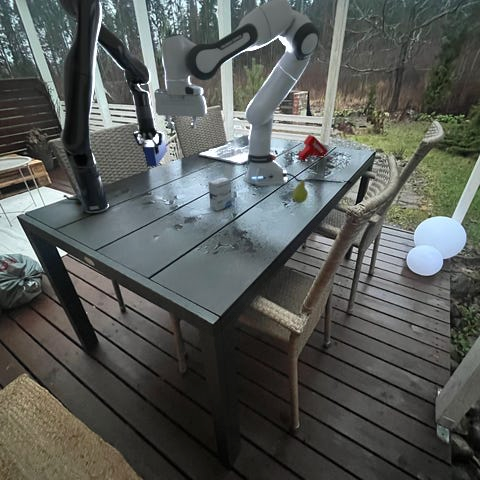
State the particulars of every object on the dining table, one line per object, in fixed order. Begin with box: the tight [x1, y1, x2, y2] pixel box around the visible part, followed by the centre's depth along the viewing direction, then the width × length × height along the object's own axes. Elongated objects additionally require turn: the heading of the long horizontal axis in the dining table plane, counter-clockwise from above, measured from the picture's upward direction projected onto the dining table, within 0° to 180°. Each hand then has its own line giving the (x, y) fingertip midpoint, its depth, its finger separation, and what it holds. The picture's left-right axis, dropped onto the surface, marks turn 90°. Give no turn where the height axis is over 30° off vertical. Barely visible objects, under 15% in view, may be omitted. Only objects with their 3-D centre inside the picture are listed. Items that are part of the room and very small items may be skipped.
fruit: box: [291, 174, 311, 204], centre depth 118 cm, size 7×8×12 cm
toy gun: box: [297, 134, 328, 162], centre depth 175 cm, size 18×4×15 cm
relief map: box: [198, 141, 249, 165], centre depth 185 cm, size 27×35×5 cm
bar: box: [142, 133, 168, 167], centre depth 142 cm, size 27×5×9 cm, turn 2°
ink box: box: [207, 177, 232, 212], centre depth 115 cm, size 8×5×12 cm, turn 134°
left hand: (151, 154), depth 134 cm, fingers closed on bar, 4 cm apart
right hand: (182, 128), depth 108 cm, fingers open, 8 cm apart
